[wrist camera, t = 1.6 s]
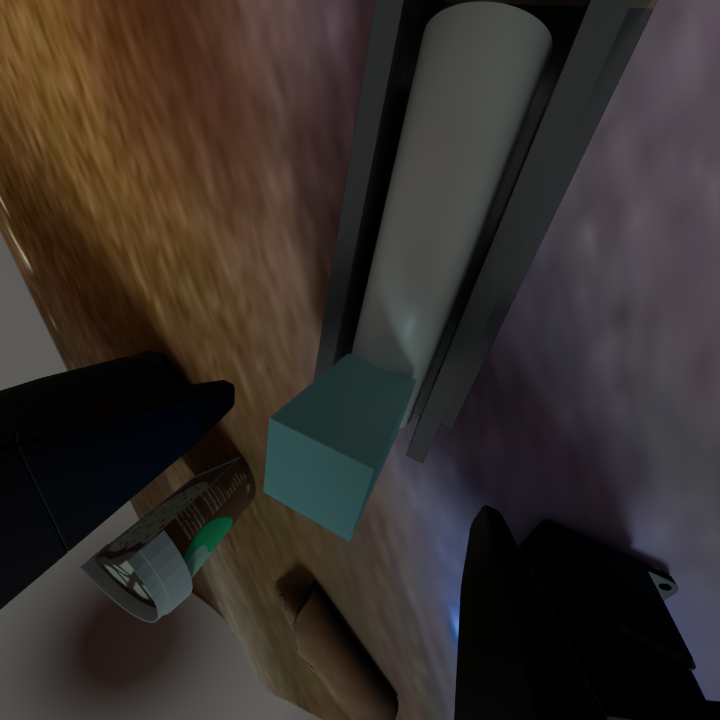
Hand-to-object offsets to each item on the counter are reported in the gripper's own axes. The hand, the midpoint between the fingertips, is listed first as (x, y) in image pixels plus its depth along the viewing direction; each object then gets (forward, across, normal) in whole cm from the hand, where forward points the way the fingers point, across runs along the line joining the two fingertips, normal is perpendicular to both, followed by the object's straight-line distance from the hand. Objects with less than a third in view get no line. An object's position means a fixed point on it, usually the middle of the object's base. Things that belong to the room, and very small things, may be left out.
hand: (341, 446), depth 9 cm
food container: (+8, +12, +20) cm, 25 cm away
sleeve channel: (+8, 0, -6) cm, 10 cm away
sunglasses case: (+9, -2, +36) cm, 37 cm away
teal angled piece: (+7, 0, -5) cm, 8 cm away
